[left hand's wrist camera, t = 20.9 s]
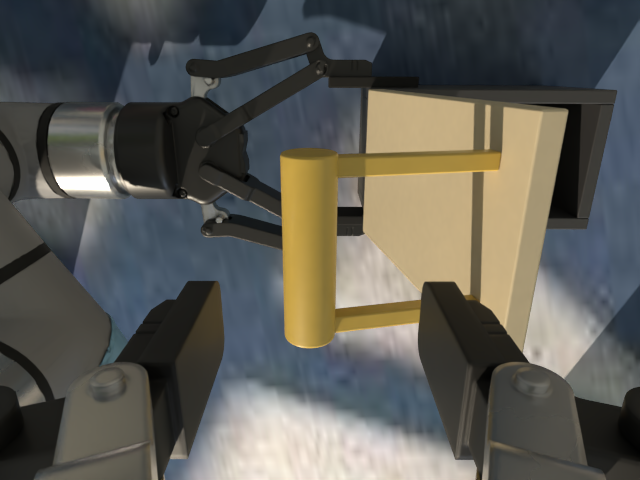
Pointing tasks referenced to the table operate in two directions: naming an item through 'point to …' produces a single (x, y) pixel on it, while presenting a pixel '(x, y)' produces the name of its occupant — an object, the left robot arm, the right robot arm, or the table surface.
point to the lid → (425, 209)
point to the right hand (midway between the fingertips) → (409, 152)
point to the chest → (577, 148)
